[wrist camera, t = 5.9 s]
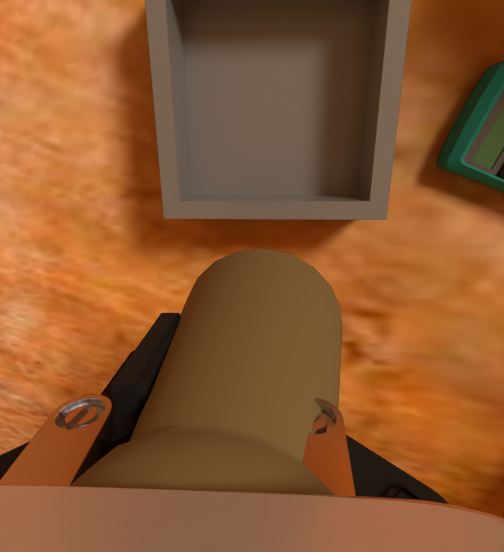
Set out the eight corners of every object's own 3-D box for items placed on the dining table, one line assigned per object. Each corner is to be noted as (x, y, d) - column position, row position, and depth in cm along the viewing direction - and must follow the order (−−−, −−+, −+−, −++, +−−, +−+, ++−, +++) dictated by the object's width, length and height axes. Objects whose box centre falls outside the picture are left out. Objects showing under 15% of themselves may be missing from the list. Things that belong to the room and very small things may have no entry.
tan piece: (321, 229, 12) (423, 615, 2) (357, 377, 14) (515, 1000, 4) (162, 271, 14) (-265, 641, 3) (213, 402, 15) (33, 919, 5)
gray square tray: (368, 208, 29) (386, 219, 24) (181, 207, 30) (163, 218, 25) (390, -22, 24) (418, -64, 19) (166, -14, 25) (140, -52, 20)
